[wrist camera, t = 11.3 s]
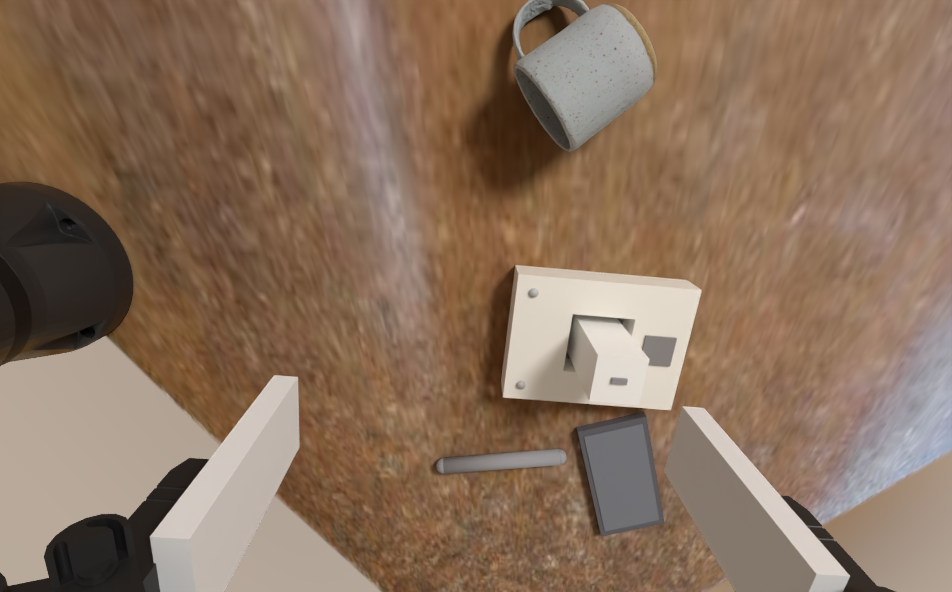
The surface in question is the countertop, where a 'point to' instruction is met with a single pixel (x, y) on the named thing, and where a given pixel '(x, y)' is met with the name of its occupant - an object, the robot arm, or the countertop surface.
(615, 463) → the phone slab
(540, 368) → the outlet plate
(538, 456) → the grey rod
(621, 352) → the charger block
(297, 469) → the countertop surface
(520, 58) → the ceramic mug
